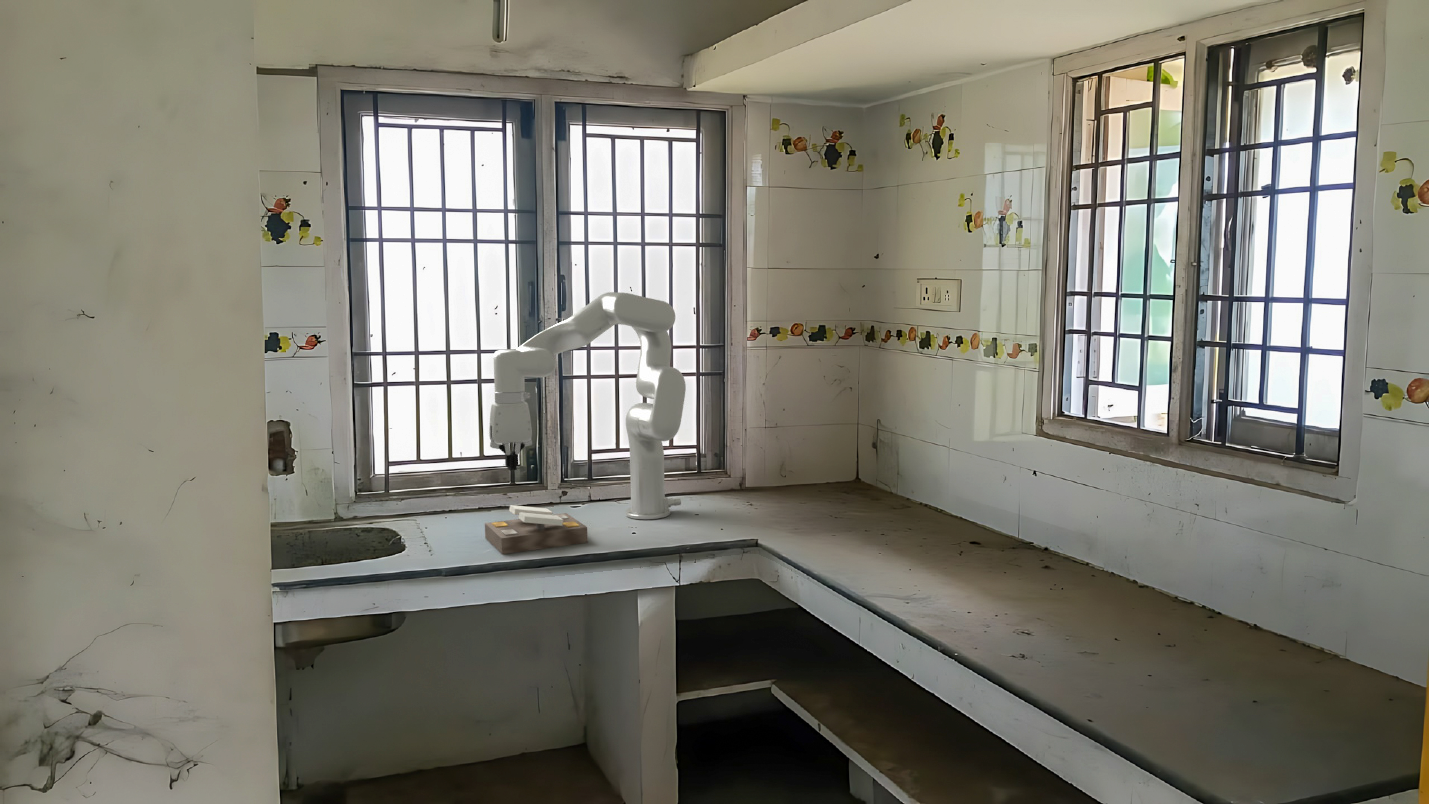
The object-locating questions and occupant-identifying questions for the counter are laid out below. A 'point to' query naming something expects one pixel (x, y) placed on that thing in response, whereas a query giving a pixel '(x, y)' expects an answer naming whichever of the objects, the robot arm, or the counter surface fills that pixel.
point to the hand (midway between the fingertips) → (512, 469)
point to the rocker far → (529, 510)
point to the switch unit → (534, 534)
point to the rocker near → (540, 519)
